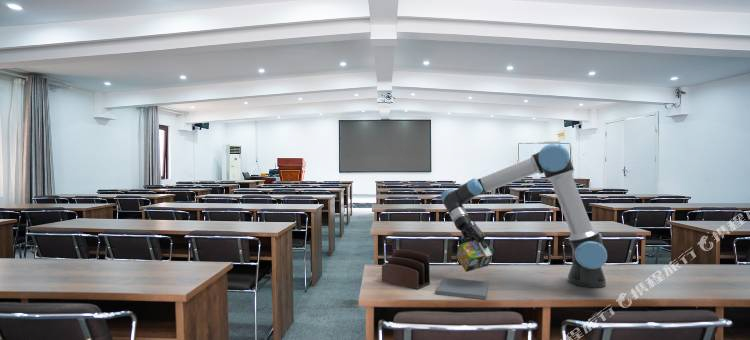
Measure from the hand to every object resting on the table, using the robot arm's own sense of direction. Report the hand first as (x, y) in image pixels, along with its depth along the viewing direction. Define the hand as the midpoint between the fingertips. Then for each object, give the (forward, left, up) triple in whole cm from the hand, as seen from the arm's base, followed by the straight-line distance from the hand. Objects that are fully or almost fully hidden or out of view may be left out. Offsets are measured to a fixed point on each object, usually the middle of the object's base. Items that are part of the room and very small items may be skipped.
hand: (484, 261), depth 174 cm
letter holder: (+34, +5, -12) cm, 36 cm away
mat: (+8, +6, -11) cm, 15 cm away
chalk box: (+9, +3, +2) cm, 10 cm away
